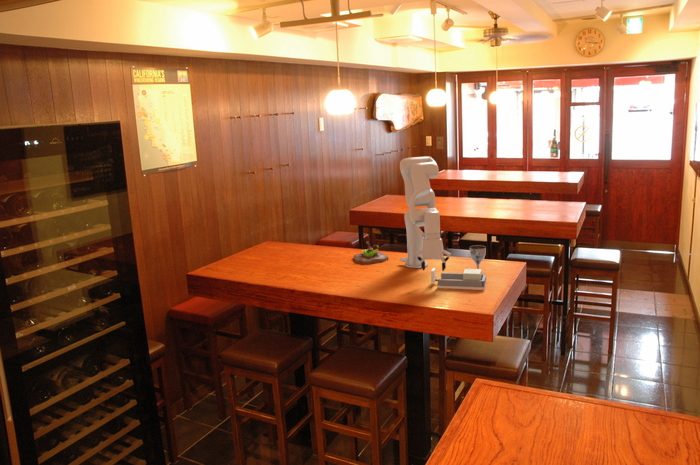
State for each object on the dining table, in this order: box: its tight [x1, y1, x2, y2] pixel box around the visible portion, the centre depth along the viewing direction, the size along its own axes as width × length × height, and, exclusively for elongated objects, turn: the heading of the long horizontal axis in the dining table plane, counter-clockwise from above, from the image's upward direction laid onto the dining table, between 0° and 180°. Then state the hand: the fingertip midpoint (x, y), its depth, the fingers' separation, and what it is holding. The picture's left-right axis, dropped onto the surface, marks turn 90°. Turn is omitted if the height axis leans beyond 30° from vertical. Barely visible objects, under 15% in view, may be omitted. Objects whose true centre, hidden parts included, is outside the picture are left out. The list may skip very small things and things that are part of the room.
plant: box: [353, 240, 389, 265], centre depth 334 cm, size 20×20×11 cm
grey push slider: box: [430, 267, 483, 284], centre depth 278 cm, size 24×8×6 cm, turn 72°
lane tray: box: [437, 272, 487, 291], centre depth 277 cm, size 22×12×4 cm, turn 72°
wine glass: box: [469, 244, 487, 269], centre depth 290 cm, size 8×8×15 cm
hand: (433, 269), depth 280 cm, fingers open, 9 cm apart
